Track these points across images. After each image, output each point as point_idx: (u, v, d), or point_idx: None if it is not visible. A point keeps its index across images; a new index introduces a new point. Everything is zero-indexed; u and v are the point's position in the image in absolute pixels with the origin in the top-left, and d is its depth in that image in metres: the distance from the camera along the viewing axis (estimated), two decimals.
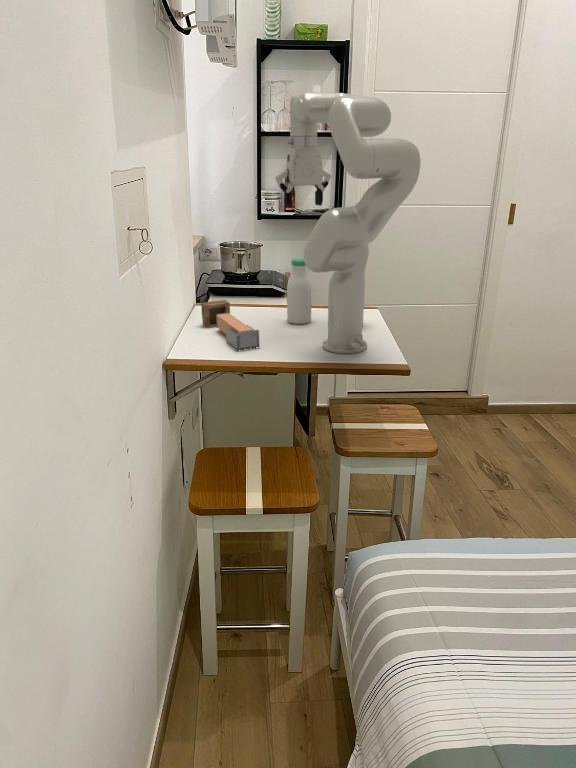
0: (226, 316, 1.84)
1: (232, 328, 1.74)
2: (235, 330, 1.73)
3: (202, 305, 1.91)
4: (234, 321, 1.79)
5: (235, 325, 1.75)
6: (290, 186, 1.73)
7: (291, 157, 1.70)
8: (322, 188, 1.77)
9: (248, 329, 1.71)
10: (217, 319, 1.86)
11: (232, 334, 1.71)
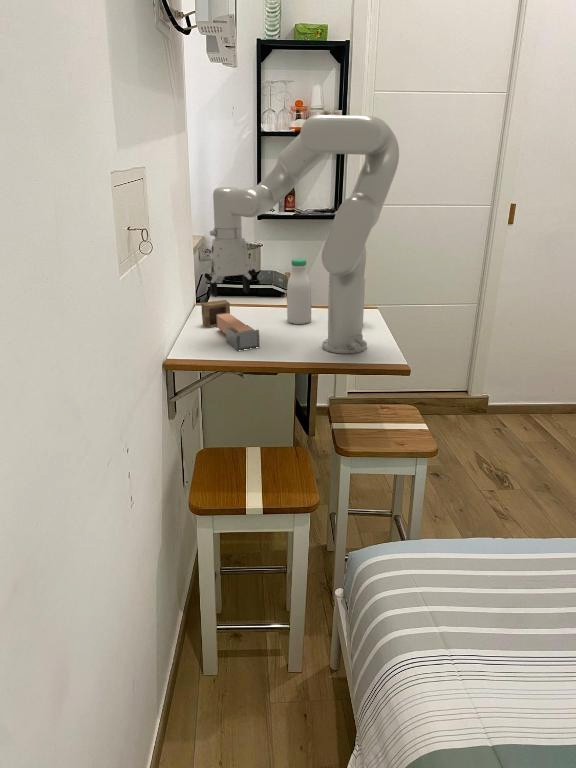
0: (226, 316, 1.84)
1: (232, 328, 1.74)
2: (235, 330, 1.73)
3: (202, 305, 1.91)
4: (234, 321, 1.79)
5: (235, 325, 1.75)
6: (215, 276, 1.71)
7: (215, 249, 1.68)
8: (249, 276, 1.75)
9: (248, 329, 1.71)
10: (217, 319, 1.86)
11: (232, 334, 1.71)
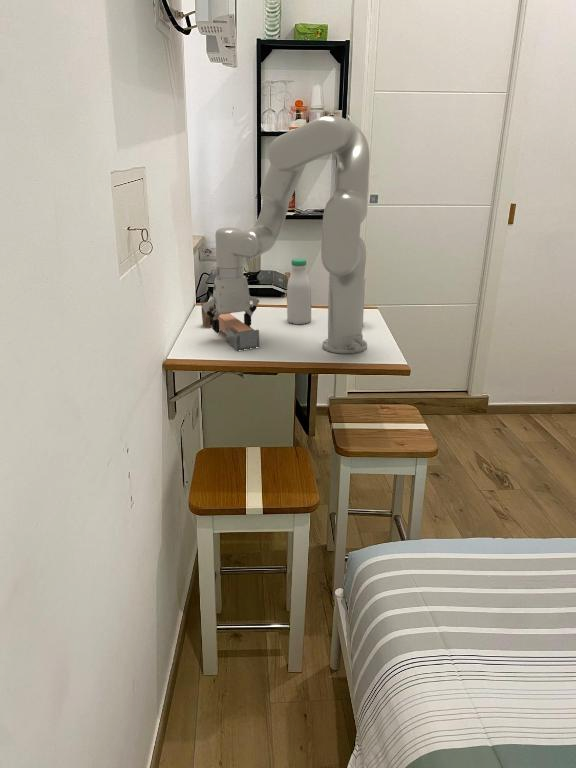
0: (226, 316, 1.84)
1: (232, 328, 1.74)
2: (235, 330, 1.73)
3: None
4: (234, 321, 1.79)
5: (235, 325, 1.75)
6: (217, 314, 1.75)
7: (217, 287, 1.72)
8: (250, 313, 1.79)
9: (248, 329, 1.71)
10: None
11: (232, 334, 1.71)
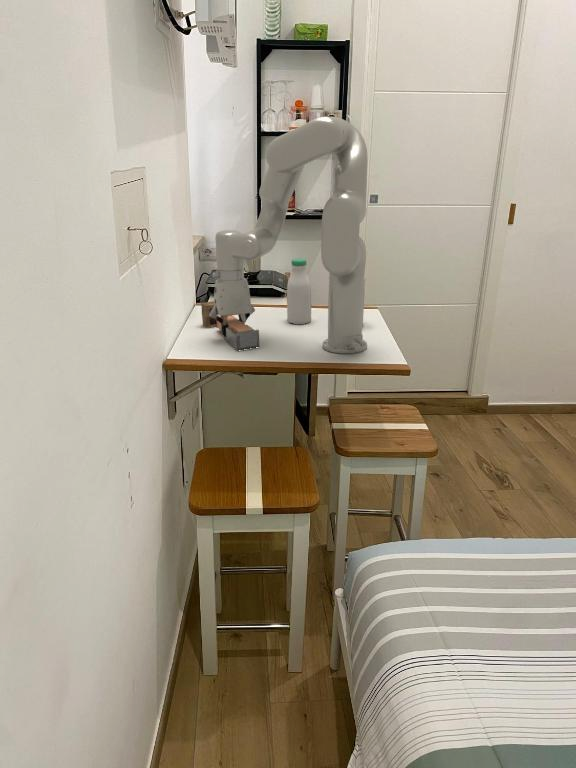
0: None
1: (232, 328, 1.74)
2: (235, 330, 1.73)
3: (202, 305, 1.91)
4: (234, 321, 1.79)
5: (235, 325, 1.75)
6: (224, 319, 1.76)
7: (218, 290, 1.72)
8: (244, 320, 1.79)
9: (248, 329, 1.71)
10: None
11: (232, 334, 1.71)
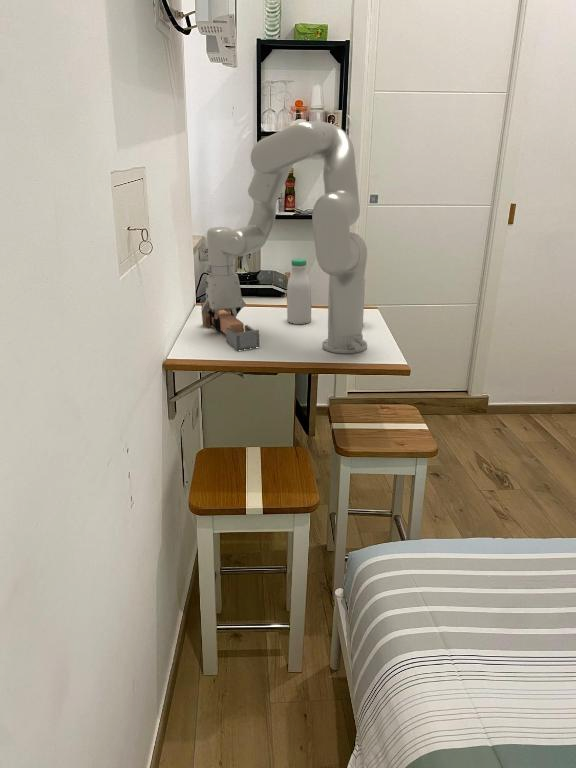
0: None
1: (223, 322, 1.81)
2: (226, 323, 1.79)
3: (202, 305, 1.91)
4: (225, 315, 1.85)
5: (226, 319, 1.81)
6: (216, 313, 1.83)
7: (209, 285, 1.78)
8: (235, 314, 1.85)
9: (239, 322, 1.77)
10: None
11: (232, 334, 1.71)
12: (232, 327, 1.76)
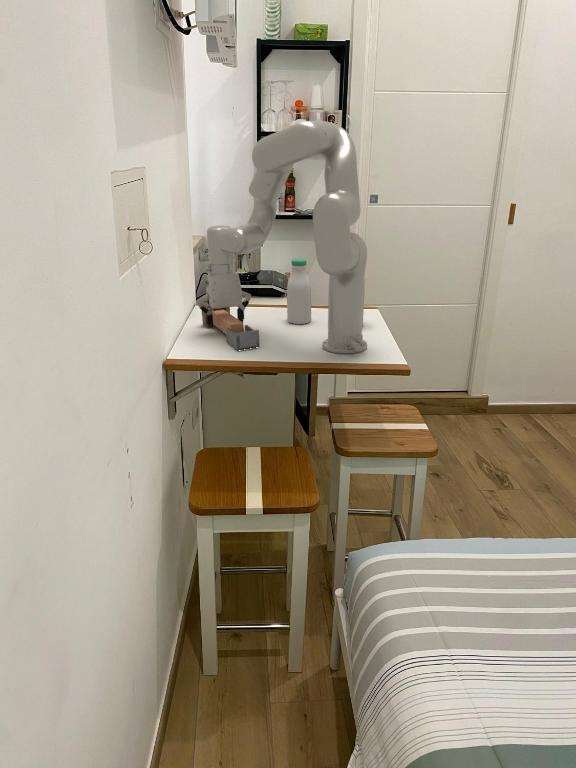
0: (218, 310, 1.91)
1: (223, 321, 1.81)
2: (226, 323, 1.79)
3: None
4: (225, 315, 1.85)
5: (226, 319, 1.81)
6: (210, 309, 1.81)
7: (210, 283, 1.78)
8: (243, 307, 1.86)
9: (238, 322, 1.77)
10: None
11: (232, 334, 1.71)
12: (232, 327, 1.76)
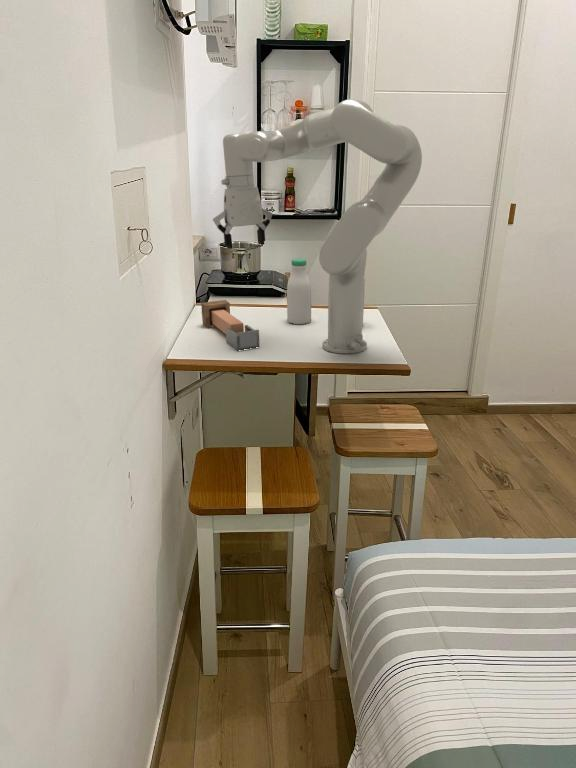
0: (218, 310, 1.91)
1: (223, 321, 1.81)
2: (226, 323, 1.79)
3: (202, 305, 1.91)
4: (225, 315, 1.85)
5: (226, 319, 1.81)
6: (229, 227, 1.67)
7: (227, 198, 1.64)
8: (263, 227, 1.71)
9: (238, 322, 1.77)
10: (209, 313, 1.92)
11: (232, 334, 1.71)
12: (232, 327, 1.76)
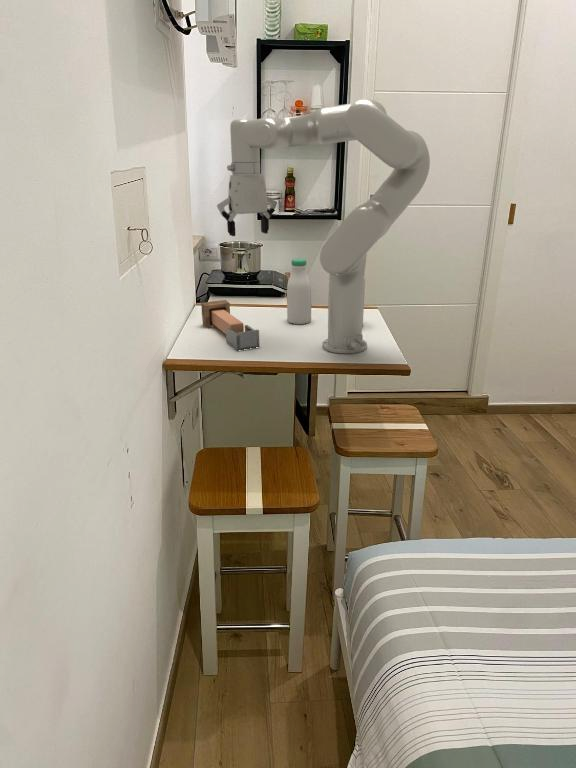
0: (218, 310, 1.91)
1: (223, 321, 1.81)
2: (226, 323, 1.79)
3: (202, 305, 1.91)
4: (225, 315, 1.85)
5: (226, 319, 1.81)
6: (233, 214, 1.64)
7: (232, 184, 1.61)
8: (267, 215, 1.69)
9: (238, 322, 1.77)
10: (209, 313, 1.92)
11: (232, 334, 1.71)
12: (232, 327, 1.76)
